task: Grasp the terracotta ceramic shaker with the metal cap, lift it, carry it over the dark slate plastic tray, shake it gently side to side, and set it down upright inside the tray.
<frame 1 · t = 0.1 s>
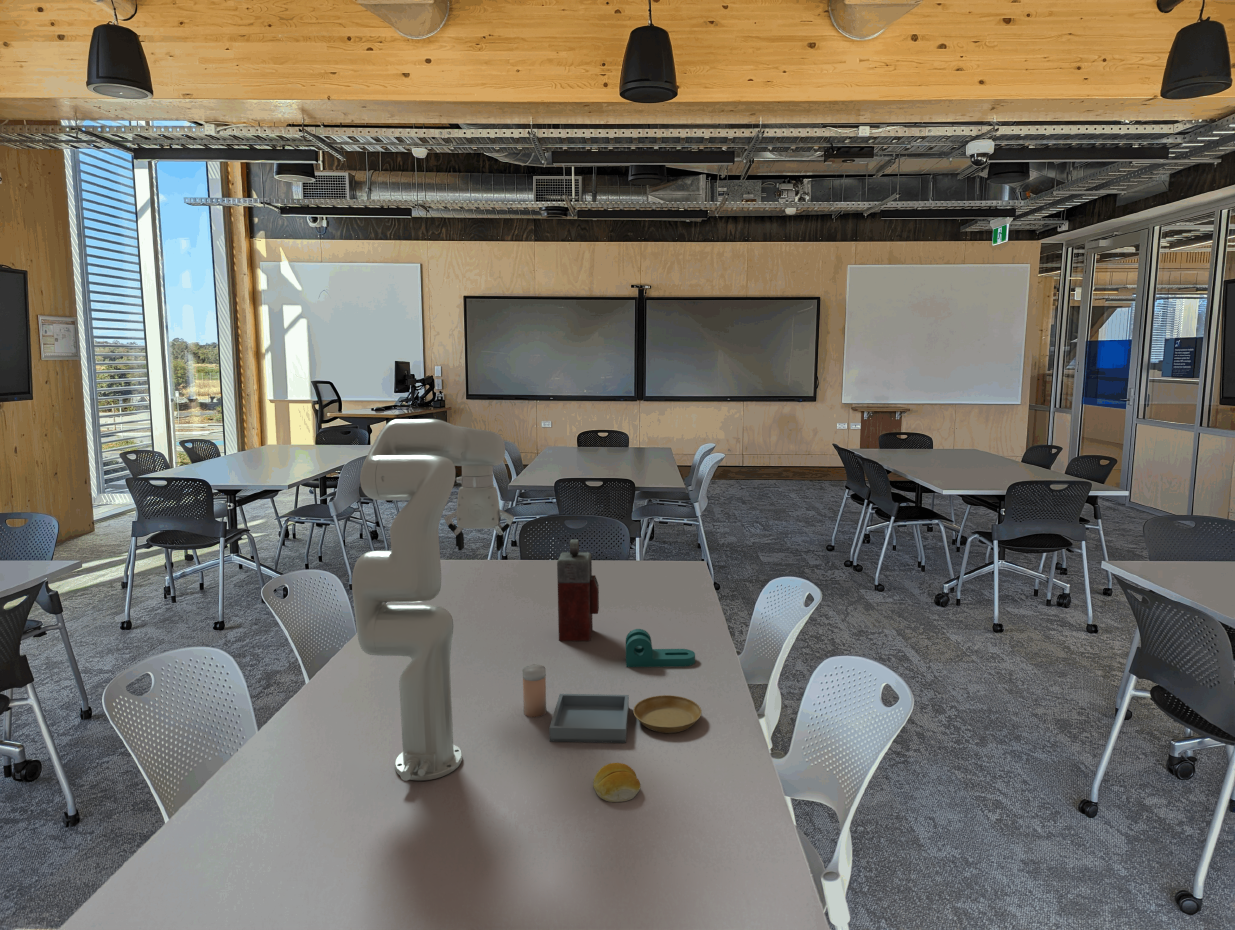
hand: (480, 549, 181), 31 cm above the table, fingers open, 9 cm apart
bread roll: (617, 790, 131), on the table
plant saucer: (667, 722, 157), on the table
shaker: (535, 711, 161), on the table
toy vending machine: (580, 635, 207), on the table
bracket: (660, 662, 188), on the table
slate tray: (591, 723, 156), on the table
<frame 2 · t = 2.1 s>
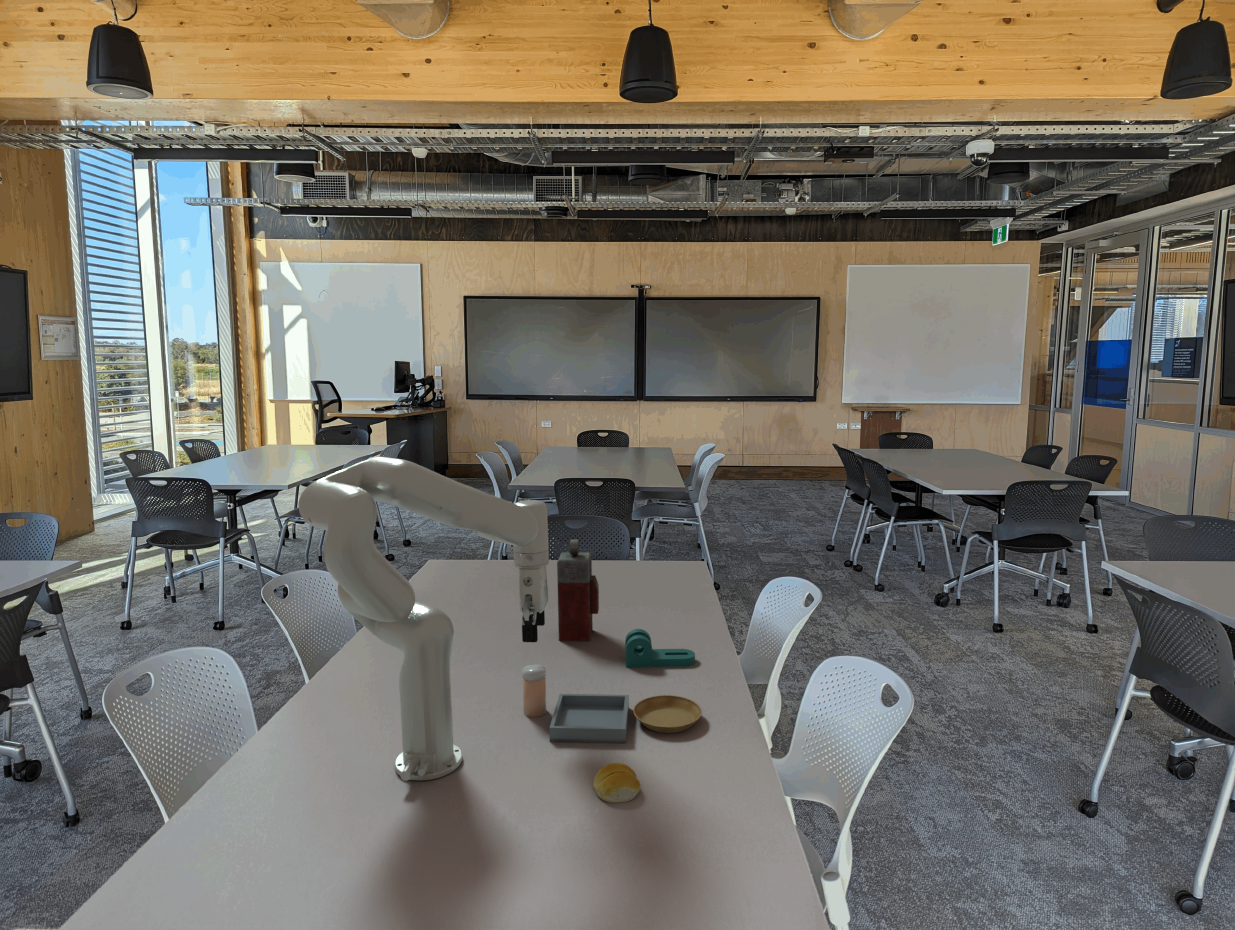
hand: (534, 633, 159), 18 cm above the table, fingers open, 9 cm apart
nothing on the table moved.
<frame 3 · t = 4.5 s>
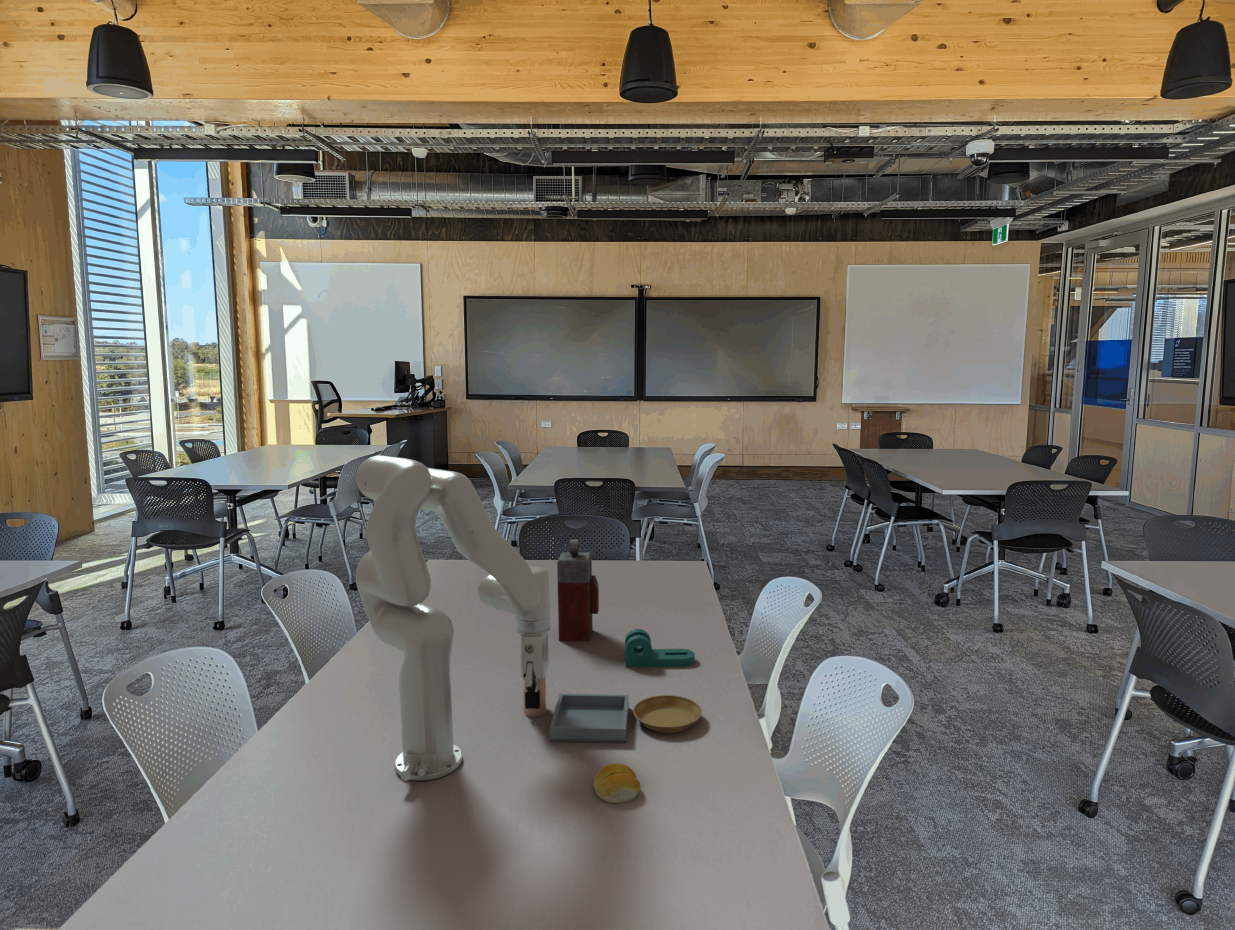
hand: (534, 701, 161), 2 cm above the table, fingers closed on shaker, 5 cm apart
shaker: (535, 711, 161), on the table, touching gripper
everything else where it was.
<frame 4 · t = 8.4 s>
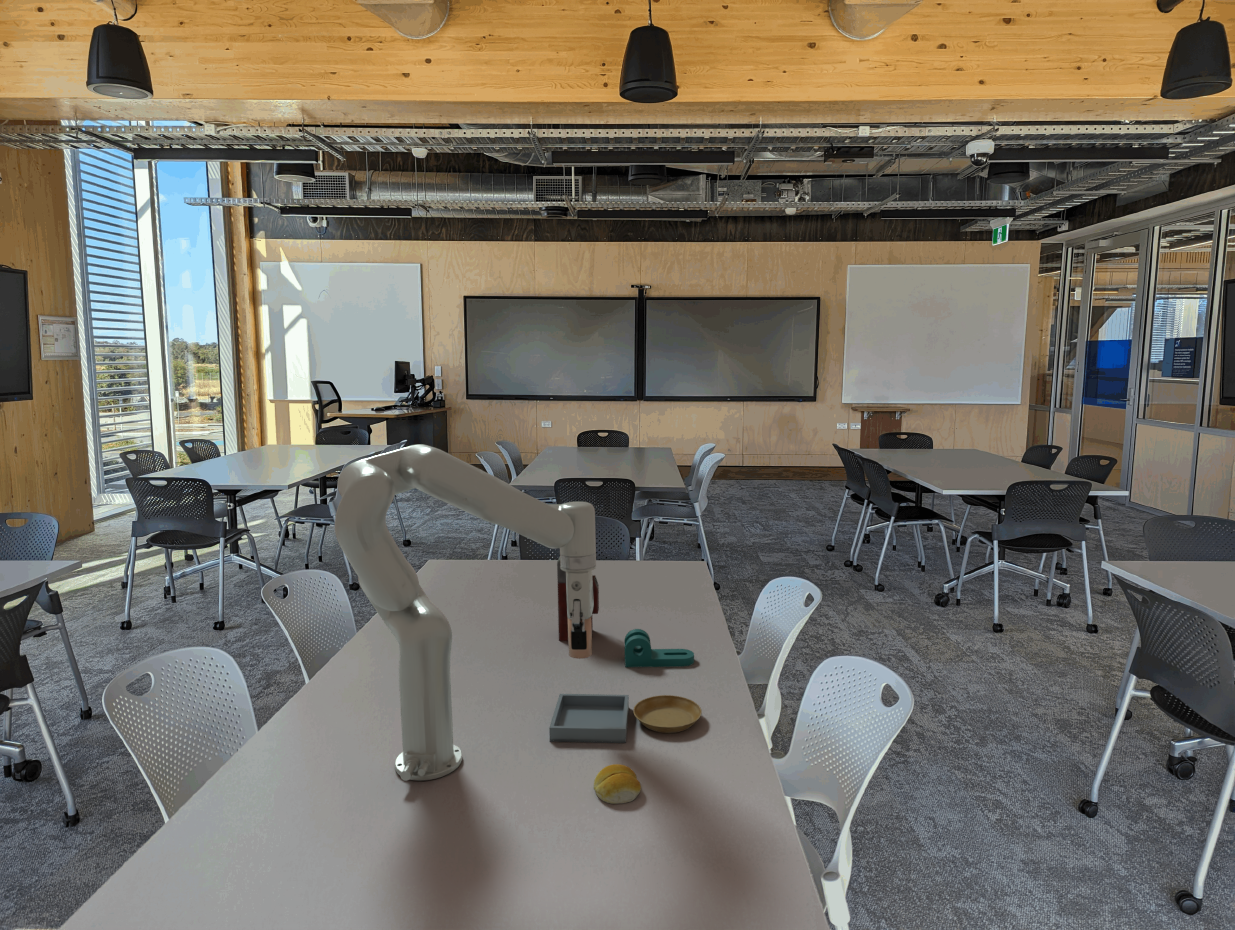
hand: (580, 642, 154), 18 cm above the table, fingers closed on shaker, 5 cm apart
shaker: (580, 653, 155), point 15 cm above the table, touching gripper
everything else where it was.
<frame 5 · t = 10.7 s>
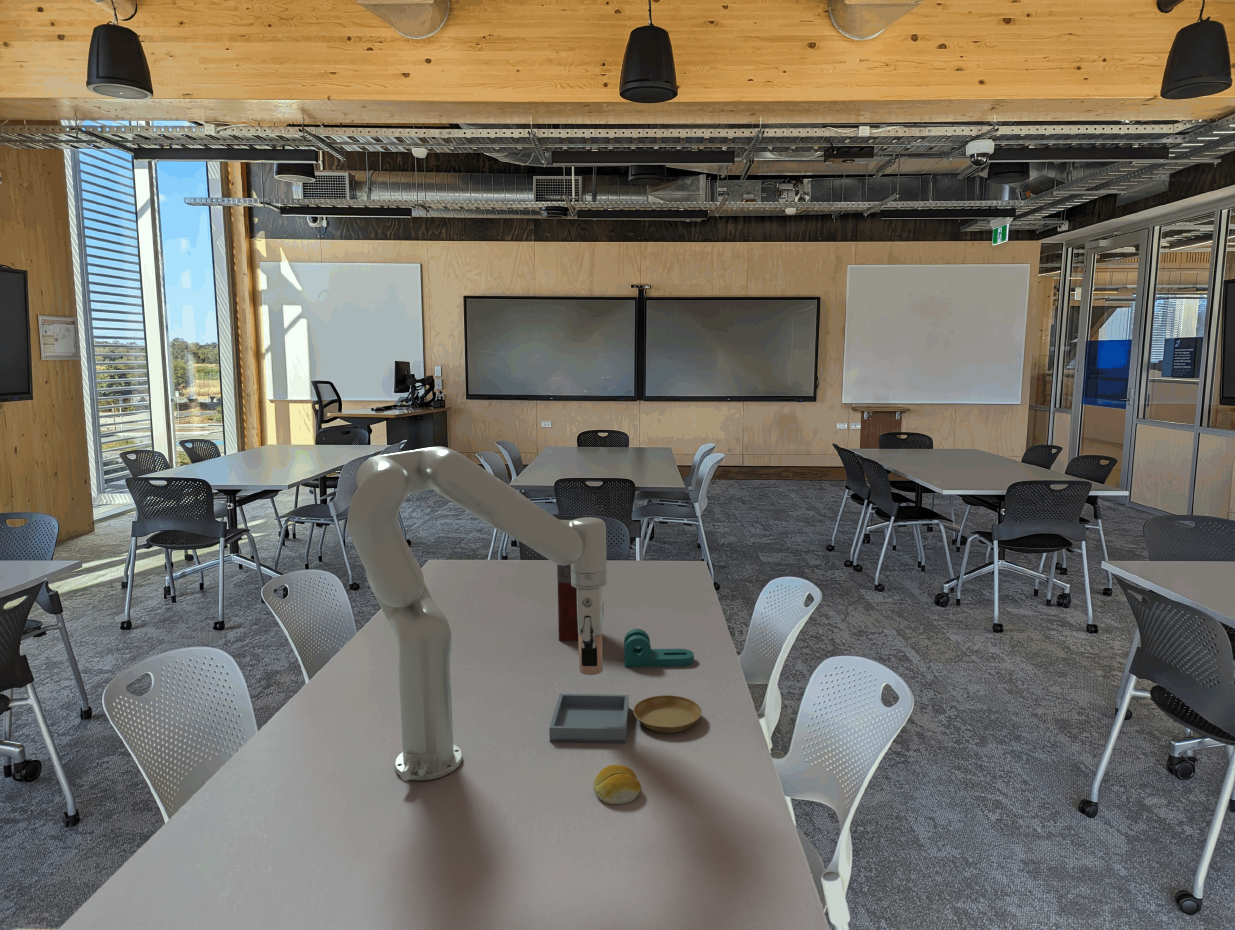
hand: (590, 659, 154), 14 cm above the table, fingers closed on shaker, 5 cm apart
shaker: (591, 670, 154), point 12 cm above the table, touching gripper
everything else where it was.
when the fingers open (4 cm above the table, at t = 12.7 s): shaker drops 1 cm, resting on slate tray.
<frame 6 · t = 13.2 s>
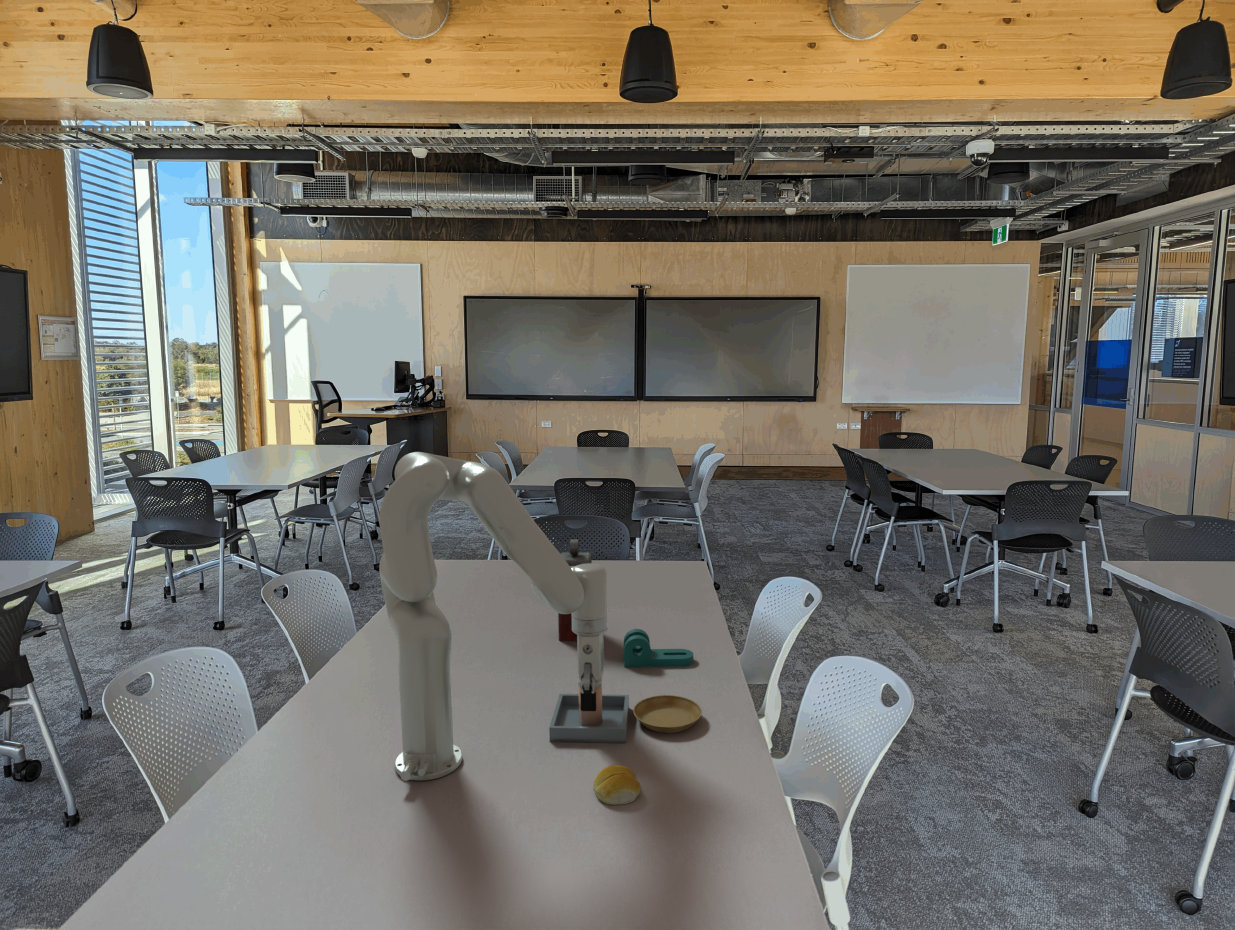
hand: (590, 699, 155), 5 cm above the table, fingers open, 9 cm apart
shaker: (590, 721, 155), point 1 cm above the table, touching slate tray
everything else where it was.
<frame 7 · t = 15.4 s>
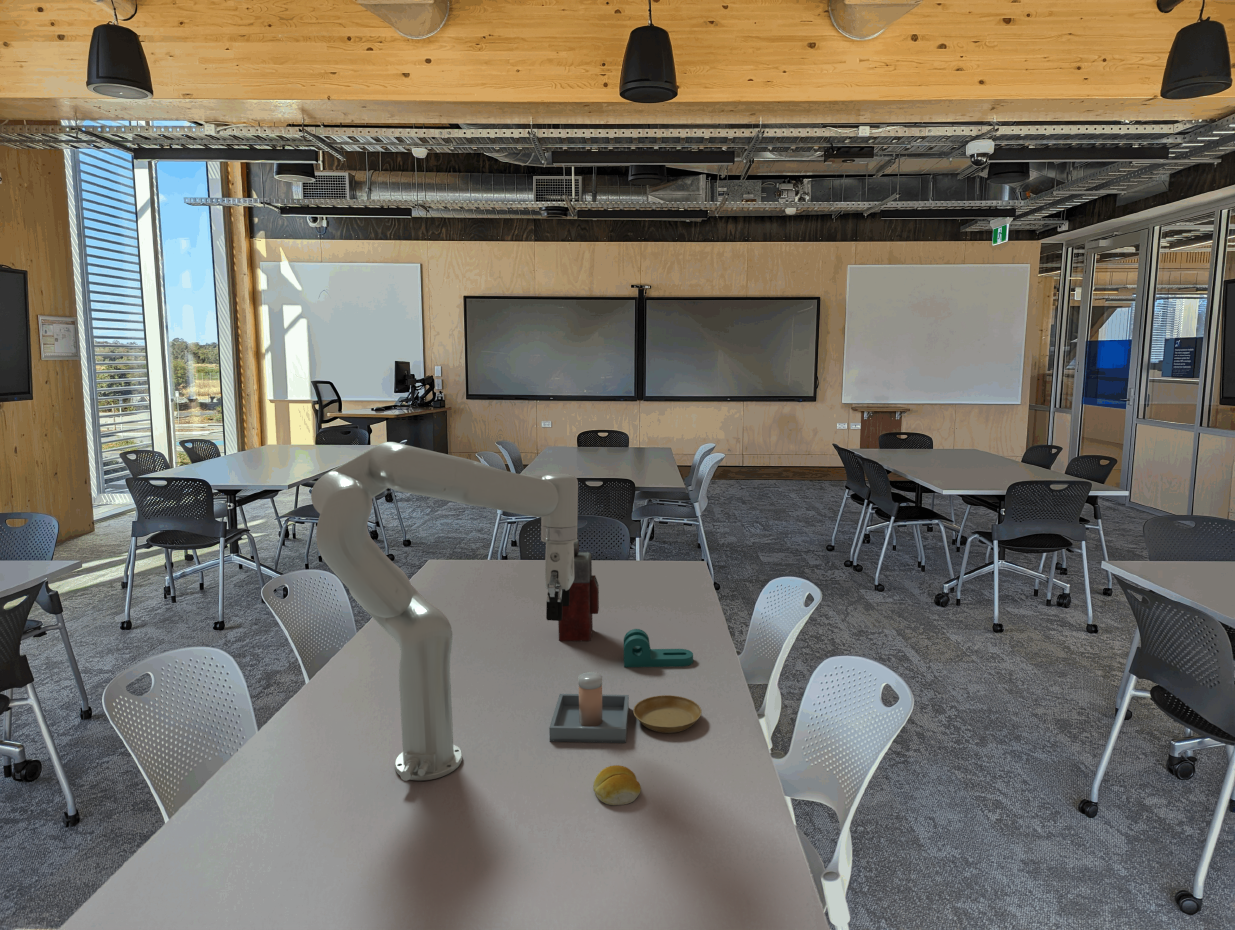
hand: (558, 612, 153), 25 cm above the table, fingers open, 9 cm apart
nothing on the table moved.
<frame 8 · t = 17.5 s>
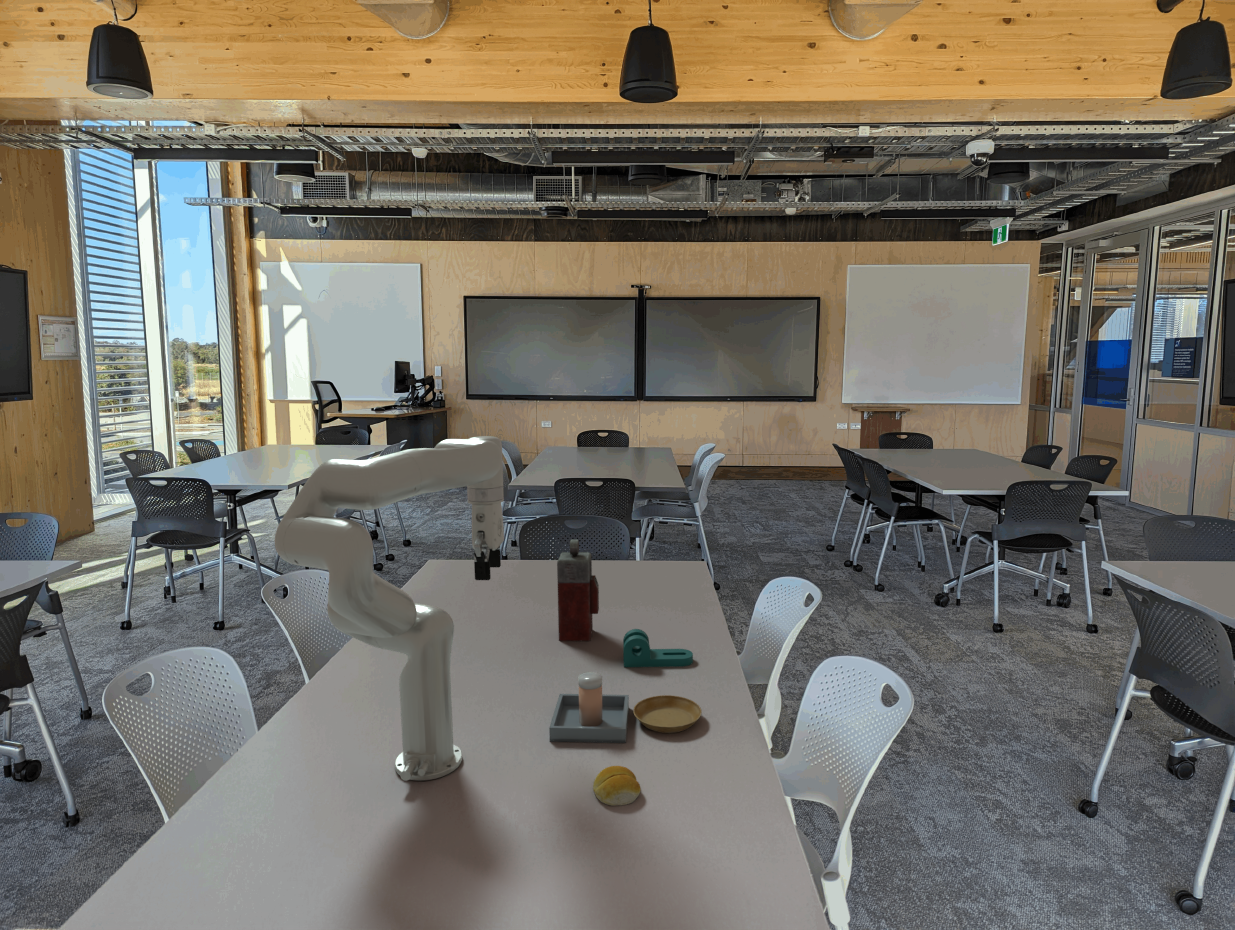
hand: (488, 573, 155), 32 cm above the table, fingers open, 9 cm apart
nothing on the table moved.
at the end: shaker inside the target area on the slate tray (0.1 cm from its centre), point 0.6 cm above the slate tray's base; shaker tilted 0°; the gripper is holding nothing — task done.
